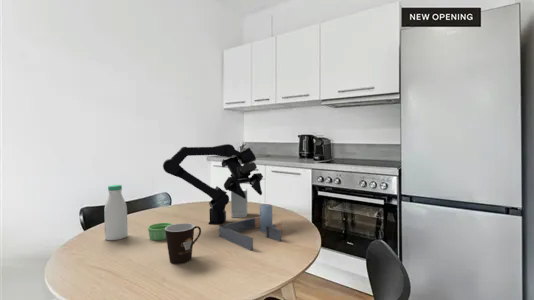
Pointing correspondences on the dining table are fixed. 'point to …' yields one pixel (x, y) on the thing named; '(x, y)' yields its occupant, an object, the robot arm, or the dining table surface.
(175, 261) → the coffee mug
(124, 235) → the milk bottle
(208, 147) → the robot arm
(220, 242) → the dining table surface
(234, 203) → the supplement box
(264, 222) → the slate peg
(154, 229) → the ramekin
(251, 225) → the bent channel
